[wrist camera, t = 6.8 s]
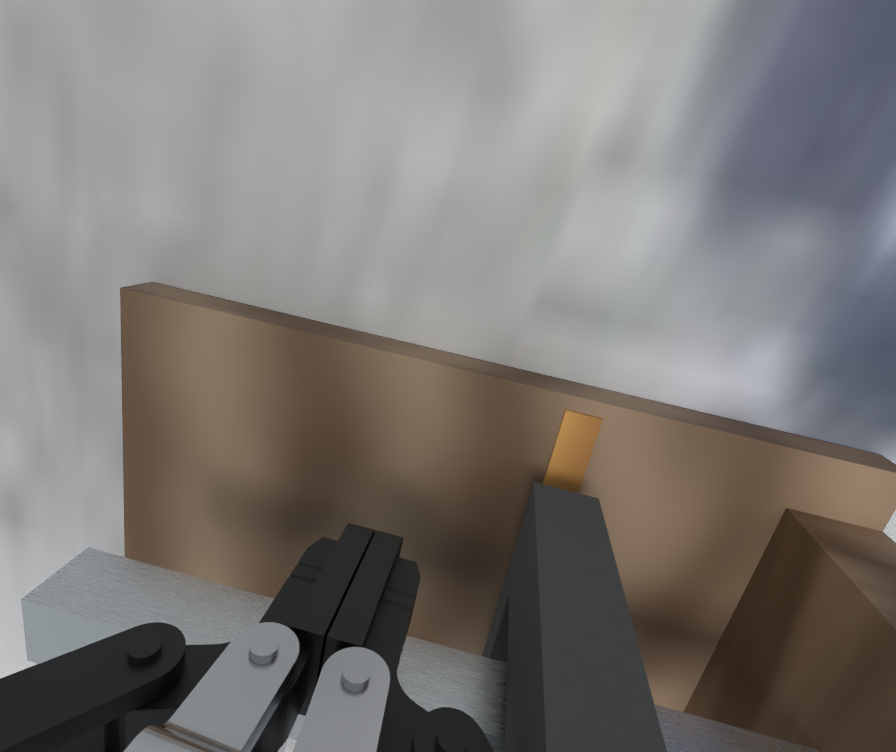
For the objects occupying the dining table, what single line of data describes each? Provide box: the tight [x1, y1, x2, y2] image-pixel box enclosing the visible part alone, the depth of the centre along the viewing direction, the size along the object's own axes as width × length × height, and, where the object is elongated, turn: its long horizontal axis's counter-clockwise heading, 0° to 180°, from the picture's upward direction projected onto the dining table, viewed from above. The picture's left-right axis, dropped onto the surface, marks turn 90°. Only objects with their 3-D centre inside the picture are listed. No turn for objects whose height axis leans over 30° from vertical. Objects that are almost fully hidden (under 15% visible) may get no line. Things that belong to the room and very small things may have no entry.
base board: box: [120, 282, 896, 752], centre depth 16 cm, size 26×14×9 cm, turn 78°
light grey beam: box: [21, 547, 819, 752], centre depth 13 cm, size 20×2×2 cm, turn 78°
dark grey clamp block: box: [482, 482, 667, 752], centre depth 13 cm, size 2×9×9 cm, turn 169°
